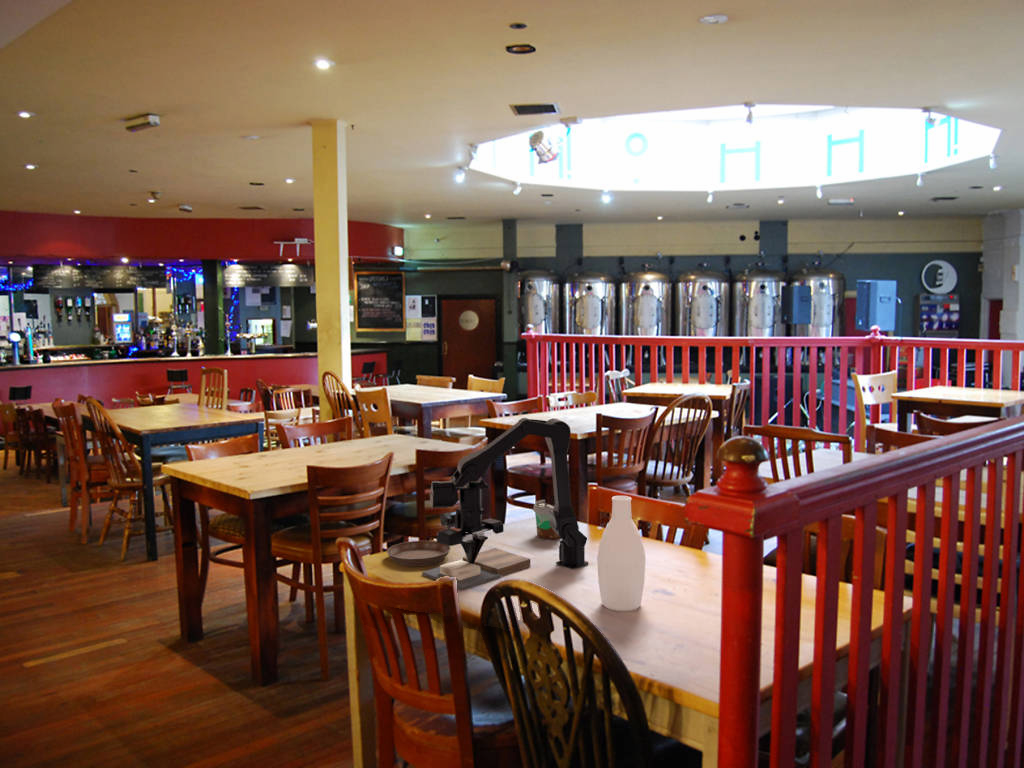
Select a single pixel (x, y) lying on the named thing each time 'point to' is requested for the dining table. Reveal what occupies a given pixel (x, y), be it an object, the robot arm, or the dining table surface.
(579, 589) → the dining table surface
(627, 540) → the bottle
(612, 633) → the dining table surface
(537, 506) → the food container
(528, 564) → the serving board
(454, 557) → the dining table surface
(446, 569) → the coaster
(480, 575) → the bar mat
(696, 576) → the dining table surface
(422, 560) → the plant saucer
